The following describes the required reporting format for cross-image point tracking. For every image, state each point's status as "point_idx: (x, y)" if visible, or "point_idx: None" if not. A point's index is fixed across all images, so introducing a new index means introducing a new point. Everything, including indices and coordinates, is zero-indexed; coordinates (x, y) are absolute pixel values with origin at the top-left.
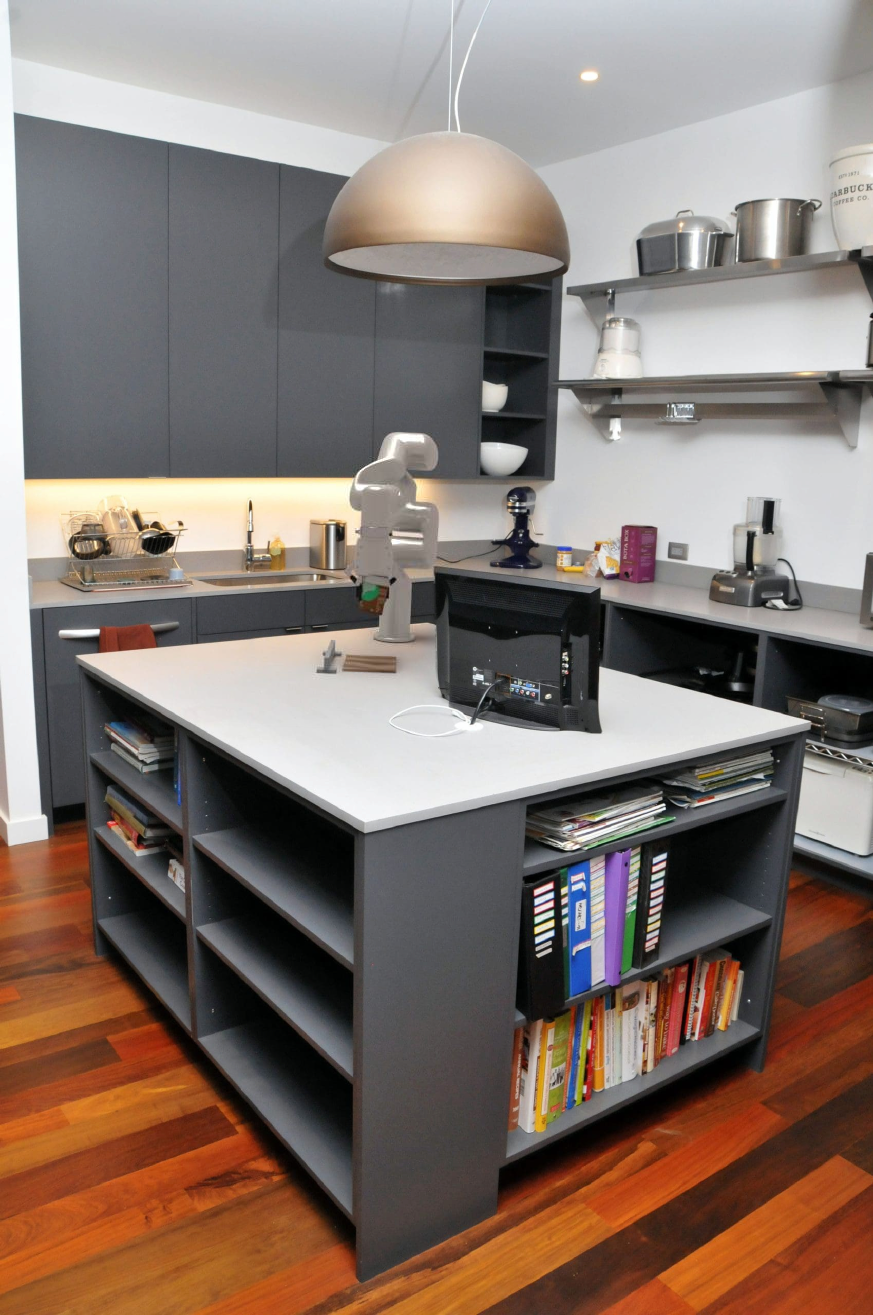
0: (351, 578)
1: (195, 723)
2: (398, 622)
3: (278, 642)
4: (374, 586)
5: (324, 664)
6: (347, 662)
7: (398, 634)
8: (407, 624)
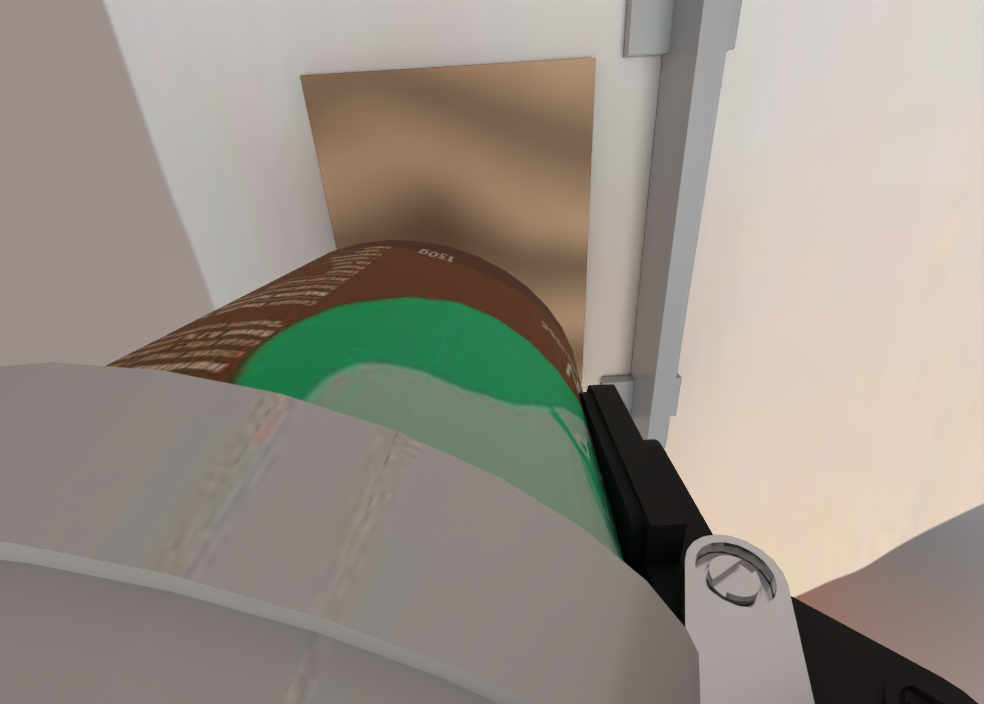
0: (944, 695)
1: None
2: None
3: (822, 530)
4: (334, 409)
5: None
6: (572, 226)
7: None
8: None
